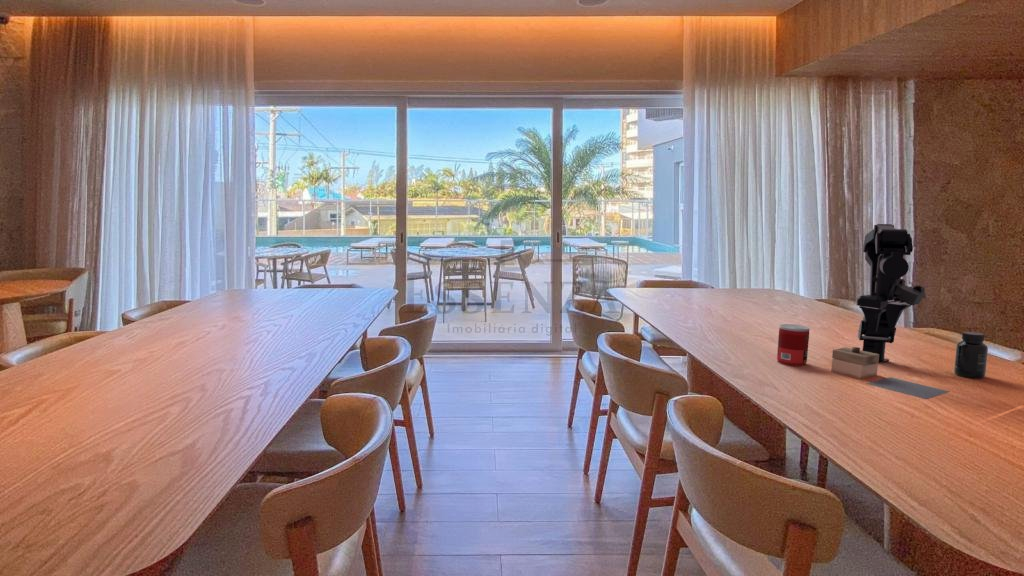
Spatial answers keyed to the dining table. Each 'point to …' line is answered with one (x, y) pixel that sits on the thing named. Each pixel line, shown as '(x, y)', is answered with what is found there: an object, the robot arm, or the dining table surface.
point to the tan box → (853, 369)
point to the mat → (908, 388)
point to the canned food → (793, 344)
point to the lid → (855, 356)
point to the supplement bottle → (971, 356)
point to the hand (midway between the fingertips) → (883, 330)
